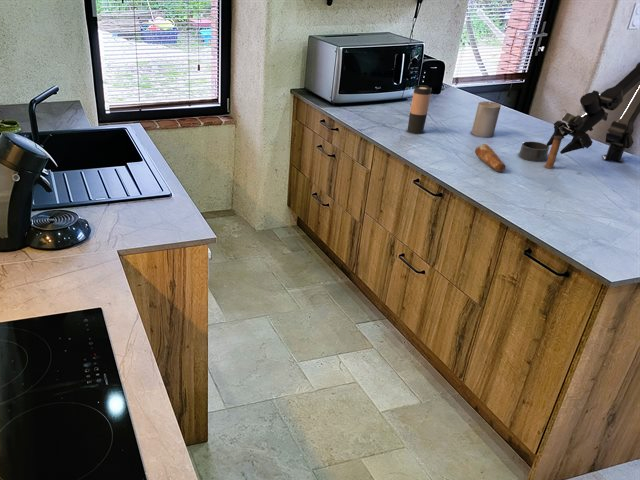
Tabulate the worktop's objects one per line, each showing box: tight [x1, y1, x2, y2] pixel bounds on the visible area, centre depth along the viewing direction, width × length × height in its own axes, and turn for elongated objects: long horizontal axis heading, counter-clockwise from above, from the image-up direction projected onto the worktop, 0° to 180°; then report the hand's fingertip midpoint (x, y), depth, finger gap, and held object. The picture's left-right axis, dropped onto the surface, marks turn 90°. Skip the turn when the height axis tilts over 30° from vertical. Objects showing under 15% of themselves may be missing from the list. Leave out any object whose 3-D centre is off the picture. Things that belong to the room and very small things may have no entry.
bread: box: [474, 143, 506, 173], centre depth 238 cm, size 6×19×6 cm, turn 3°
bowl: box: [518, 141, 550, 162], centre depth 247 cm, size 10×10×5 cm
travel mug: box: [407, 84, 432, 135], centre depth 270 cm, size 8×8×20 cm
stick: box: [545, 136, 563, 169], centre depth 235 cm, size 3×3×12 cm
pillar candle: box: [471, 100, 502, 138], centre depth 269 cm, size 10×10×15 cm
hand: (553, 149), depth 234 cm, fingers open, 9 cm apart
